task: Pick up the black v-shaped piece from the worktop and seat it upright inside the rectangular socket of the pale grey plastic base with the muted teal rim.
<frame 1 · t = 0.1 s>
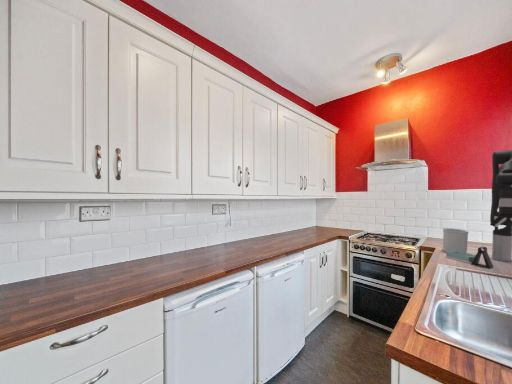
hand: (507, 234, 133), 22 cm above the worktop, tool pointing down, fingers open, 8 cm apart
socket base: (462, 259, 158), on the worktop
utensil holder: (454, 252, 177), on the worktop
black v-shaped piece: (482, 266, 145), on the worktop
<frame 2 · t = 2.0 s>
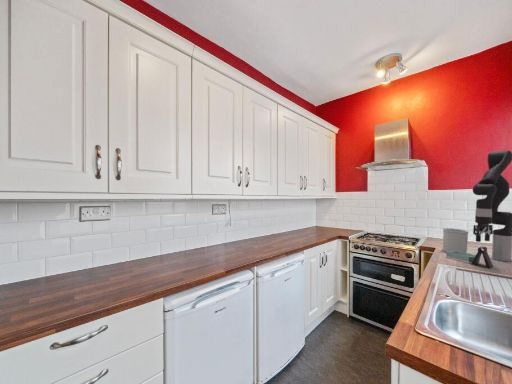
hand: (482, 241, 145), 16 cm above the worktop, tool pointing down, fingers open, 8 cm apart
nothing on the worktop moved.
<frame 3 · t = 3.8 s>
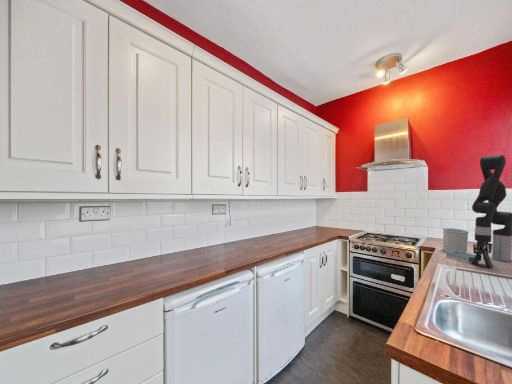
hand: (482, 260, 145), 4 cm above the worktop, tool pointing down, fingers closed on black v-shaped piece, 6 cm apart
black v-shaped piece: (482, 266, 145), on the worktop, touching gripper
everything else where it was.
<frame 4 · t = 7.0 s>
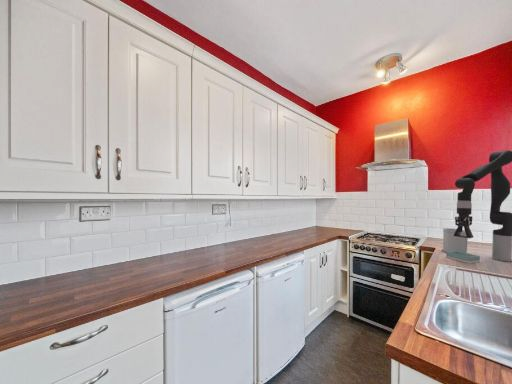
hand: (463, 231, 158), 19 cm above the worktop, tool pointing down, fingers closed on black v-shaped piece, 6 cm apart
black v-shaped piece: (463, 237, 158), point 16 cm above the worktop, touching gripper
everything else where it was.
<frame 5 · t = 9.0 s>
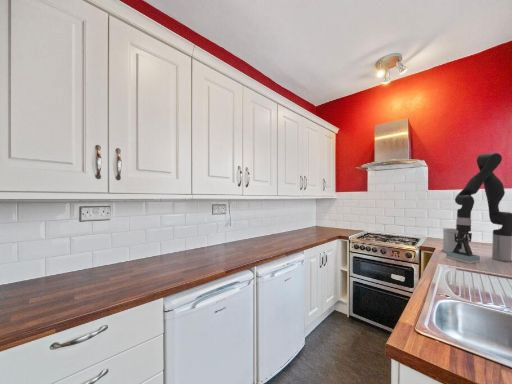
hand: (462, 248, 158), 8 cm above the worktop, tool pointing down, fingers closed on black v-shaped piece, 6 cm apart
black v-shaped piece: (462, 253, 158), point 4 cm above the worktop, touching gripper
everything else where it was.
when the fingers open (6 cm above the worktop, at t = 10.4 s): black v-shaped piece drops 1 cm, resting on socket base.
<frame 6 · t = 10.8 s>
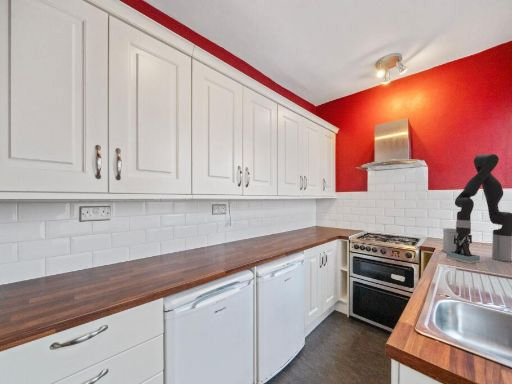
hand: (462, 249, 158), 7 cm above the worktop, tool pointing down, fingers open, 8 cm apart
black v-shaped piece: (462, 258, 158), point 1 cm above the worktop, touching socket base
everything else where it was.
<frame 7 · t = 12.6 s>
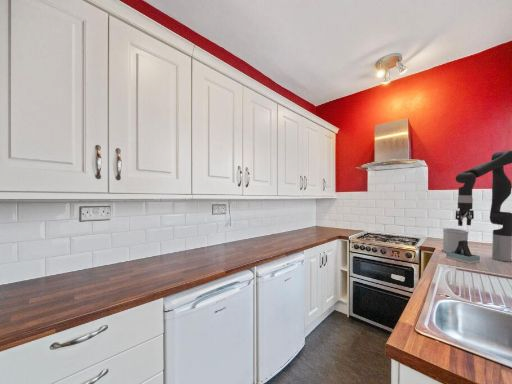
hand: (464, 225, 157), 24 cm above the worktop, tool pointing down, fingers open, 8 cm apart
nothing on the worktop moved.
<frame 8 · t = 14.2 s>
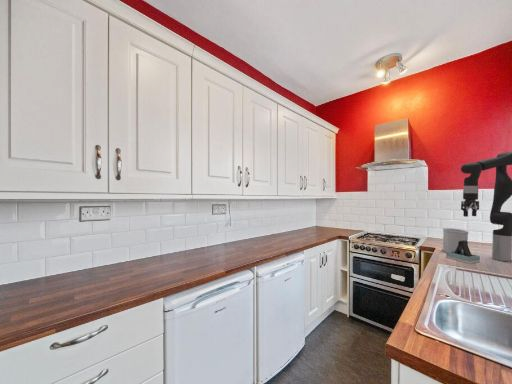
hand: (469, 216, 156), 30 cm above the worktop, tool pointing down, fingers open, 8 cm apart
nothing on the worktop moved.
at the end: black v-shaped piece 0.3 cm off-centre on the socket base, point 0.8 cm above the socket base's base; black v-shaped piece tilted 0°; the gripper is holding nothing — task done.
